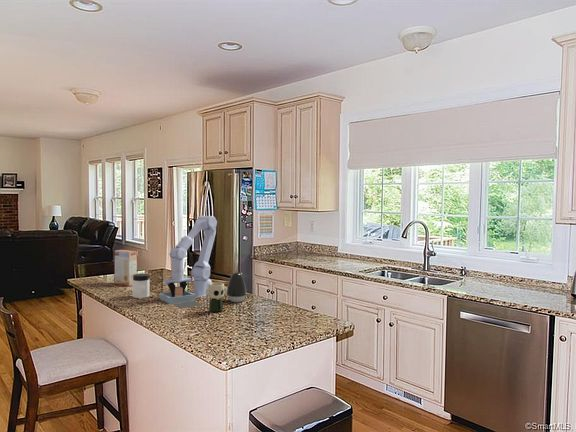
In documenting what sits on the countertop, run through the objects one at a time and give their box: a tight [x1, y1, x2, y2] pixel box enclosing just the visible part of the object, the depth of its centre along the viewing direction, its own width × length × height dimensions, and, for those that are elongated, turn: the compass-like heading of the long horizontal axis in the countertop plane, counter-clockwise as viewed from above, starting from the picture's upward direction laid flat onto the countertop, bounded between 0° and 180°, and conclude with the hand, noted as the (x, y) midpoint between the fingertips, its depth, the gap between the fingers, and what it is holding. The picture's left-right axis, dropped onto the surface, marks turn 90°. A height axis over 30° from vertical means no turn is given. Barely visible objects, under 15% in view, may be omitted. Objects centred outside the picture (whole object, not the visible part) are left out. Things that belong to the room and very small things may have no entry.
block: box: [175, 285, 183, 297], centre depth 223 cm, size 4×4×6 cm
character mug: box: [205, 282, 228, 313], centre depth 203 cm, size 11×7×13 cm, turn 127°
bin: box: [158, 289, 197, 305], centre depth 223 cm, size 14×14×4 cm
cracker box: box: [114, 249, 138, 287], centre depth 261 cm, size 14×6×21 cm, turn 58°
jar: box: [131, 273, 151, 299], centre depth 229 cm, size 9×8×12 cm
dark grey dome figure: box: [226, 271, 247, 303], centre depth 224 cm, size 10×10×15 cm
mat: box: [172, 301, 203, 310], centre depth 213 cm, size 12×10×1 cm
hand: (177, 296), depth 223 cm, fingers closed on block, 4 cm apart
